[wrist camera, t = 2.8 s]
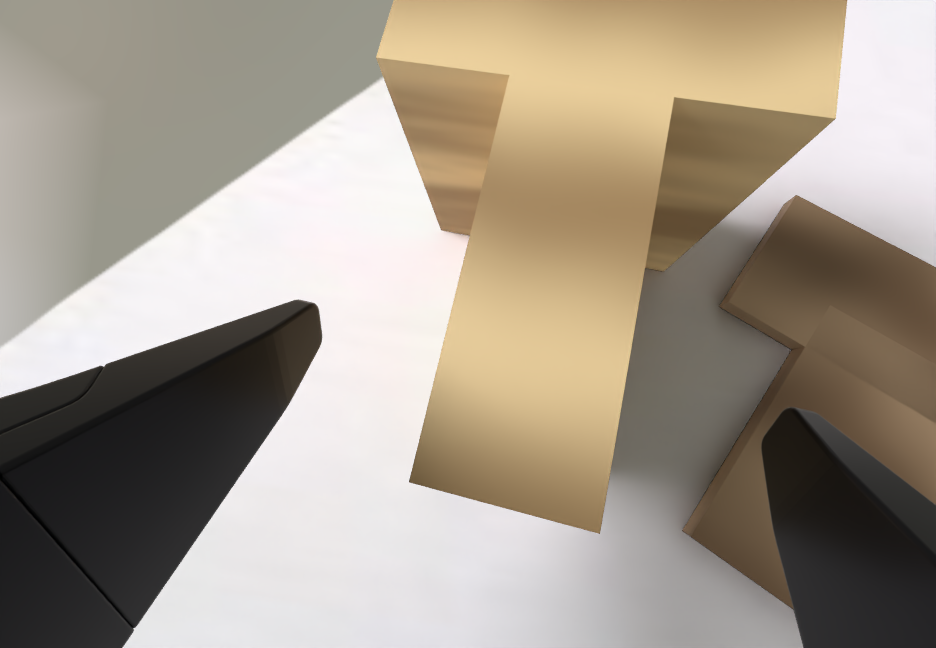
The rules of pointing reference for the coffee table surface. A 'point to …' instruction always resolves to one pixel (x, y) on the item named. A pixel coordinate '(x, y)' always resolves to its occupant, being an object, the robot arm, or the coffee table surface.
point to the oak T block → (582, 202)
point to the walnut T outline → (827, 369)
